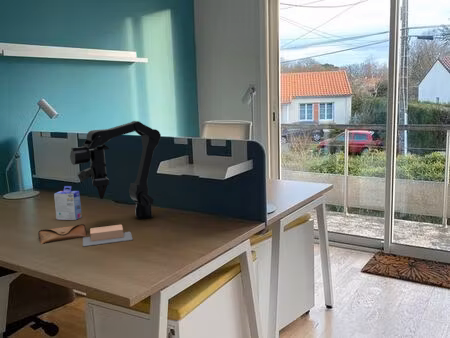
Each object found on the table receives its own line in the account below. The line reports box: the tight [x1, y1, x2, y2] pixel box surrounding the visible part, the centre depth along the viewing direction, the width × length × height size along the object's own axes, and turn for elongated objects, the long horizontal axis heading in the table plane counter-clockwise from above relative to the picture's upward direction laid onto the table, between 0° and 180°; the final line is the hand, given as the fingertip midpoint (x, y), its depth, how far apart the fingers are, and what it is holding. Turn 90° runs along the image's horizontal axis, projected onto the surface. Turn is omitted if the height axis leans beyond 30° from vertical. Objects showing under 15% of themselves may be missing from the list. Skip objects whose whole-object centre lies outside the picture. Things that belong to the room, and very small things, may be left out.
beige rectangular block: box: [89, 224, 124, 241], centre depth 172 cm, size 12×3×7 cm
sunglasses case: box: [38, 223, 89, 245], centre depth 174 cm, size 18×7×7 cm, turn 114°
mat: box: [82, 231, 133, 247], centre depth 169 cm, size 18×10×1 cm, turn 107°
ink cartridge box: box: [53, 185, 83, 221], centre depth 198 cm, size 10×6×14 cm, turn 78°
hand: (101, 198), depth 184 cm, fingers closed
